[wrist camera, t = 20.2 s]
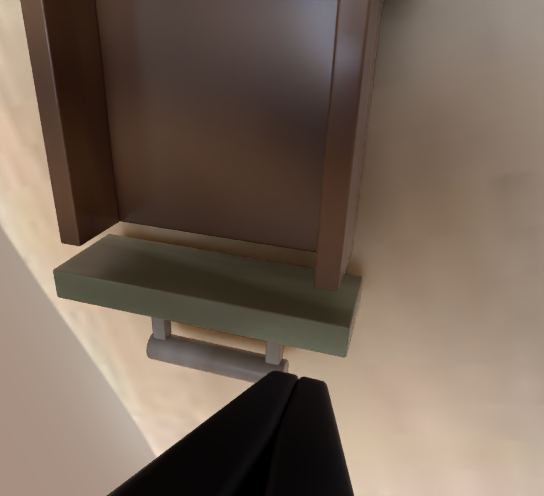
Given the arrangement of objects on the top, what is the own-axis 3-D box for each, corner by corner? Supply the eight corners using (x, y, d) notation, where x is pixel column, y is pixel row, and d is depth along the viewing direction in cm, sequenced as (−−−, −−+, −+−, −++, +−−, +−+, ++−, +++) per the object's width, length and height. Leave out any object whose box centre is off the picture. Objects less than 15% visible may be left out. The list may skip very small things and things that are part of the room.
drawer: (349, 379, 20) (335, 444, 17) (120, 328, 23) (71, 376, 20) (411, -76, 13) (406, -108, 10) (72, -72, 16) (-16, -97, 13)
